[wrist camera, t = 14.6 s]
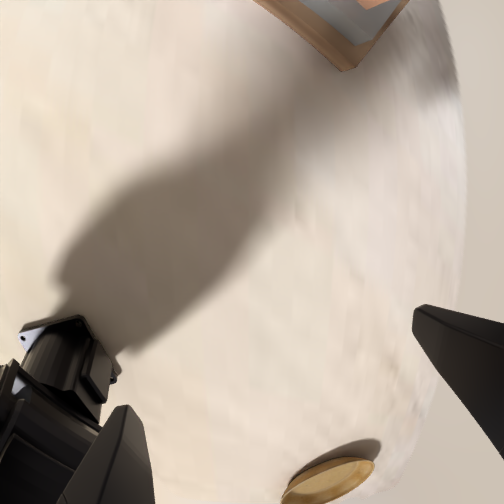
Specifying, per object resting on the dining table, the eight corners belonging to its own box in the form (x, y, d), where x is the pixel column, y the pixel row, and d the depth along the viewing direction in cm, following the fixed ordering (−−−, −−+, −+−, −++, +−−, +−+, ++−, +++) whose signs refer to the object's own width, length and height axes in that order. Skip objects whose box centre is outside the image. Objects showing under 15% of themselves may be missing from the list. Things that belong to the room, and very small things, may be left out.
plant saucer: (383, 451, 39) (390, 462, 37) (317, 498, 41) (323, 509, 39) (329, 441, 33) (337, 456, 31) (254, 495, 35) (259, 509, 33)
